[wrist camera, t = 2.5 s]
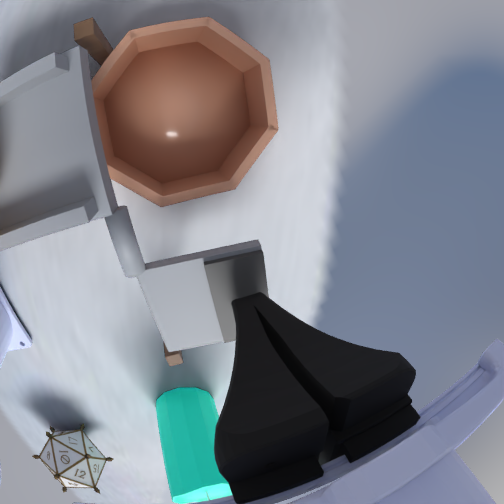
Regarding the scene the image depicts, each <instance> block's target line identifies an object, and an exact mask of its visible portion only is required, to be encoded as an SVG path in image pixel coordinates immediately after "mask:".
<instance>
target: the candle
mask: <svg viewBox="0 0 504 504" xmlns="http://www.w3.org/2000/svg"><path fill="white" fill-rule="evenodd" d="M156 412H157V420H158V427H159V434H160V440H161V446H162V452H163V458H164V464H165V469H166V474H167V479H168V484H169V488H170V493H171V497H172V501H173V502H175V503H179V504H183V503H190V502H202V501H208V500H213V499H218V498H222V497H227V496H231V495H232V492H231V489H230V486H229V483H228V482H227V481H226V480H225V479H224V477H223V476H222V475H221V474H220V473H219V470H218V467H217V464H216V461H215V455H214V438H215V427H216V424H217V422H218V419H219V416H218V412H217V409H216V406H215V402H214V399H213V398H212V396H211V395H210V394H209V392H207V391H204V390H201V389H199V388H196V387H179V388H176V389H173V390H170V391H167V392H164V393H163V394H162V395H161V396H160V397H159V398H158V399H157V400H156Z"/></svg>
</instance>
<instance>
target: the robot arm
mask: <svg viewBox="0 0 504 504" xmlns="http://www.w3.org/2000/svg"><path fill="white" fill-rule="evenodd" d="M231 305H232V309H233V314H234V318H235V322H236V347H235V358H234V365H233V371H232V376H231V381H230V386H229V389H228V393H227V396H226V400H225V403H224V406H223V409H222V412H221V414H220V417H219V419H218V422H217V424H216V427H215V438H214V455H215V461H216V464H217V467H218V470H219V473H220V474H221V475H222V476H223V477H224V479H225V480H226V481H227V482H228V483H229V486H230V489H231V492H232V495H231V496H227V497H222V498H218V499H213V500H208V501H202V502H196V503H191V504H274V503H278V502H281V501H284V500H287V499H290V498H292V497H295V496H298V495H301V494H303V493H306V492H308V491H311V490H313V489H315V488H318V487H320V486H322V485H325V484H327V483H329V482H332V481H334V480H336V479H337V480H336V481H334V482H333V483H331V484H330V485H328V486H326V487H324V488H322V489H320V490H318V491H316V492H313V493H311V494H309V495H307V496H305V497H302V498H300V499H298V500H296V501H293V502H291V503H288V504H496V503H495V502H494V500H493V499H492V498H491V496H490V495H489V494H488V492H487V491H486V490H485V488H484V487H483V486H482V484H481V483H480V482H479V481H478V479H477V478H476V477H475V475H474V474H473V473H472V471H471V470H470V469H469V468H468V466H467V465H466V464H465V462H464V461H463V460H462V459H461V457H460V456H459V455H458V453H457V452H456V451H455V449H456V448H457V447H458V446H460V445H461V443H463V442H464V441H465V440H466V439H467V438H468V437H469V436H470V435H471V434H472V433H473V432H474V431H475V430H476V429H477V428H478V427H479V426H480V425H481V424H482V423H483V422H484V421H485V420H486V419H487V418H488V417H489V416H490V415H491V413H492V412H493V411H494V410H495V409H496V408H497V407H498V406H499V405H500V403H501V402H502V401H503V400H504V344H503V343H502V342H501V341H499V340H498V339H496V340H495V341H494V342H493V343H492V344H491V345H490V346H489V347H488V348H487V349H486V350H485V351H484V352H483V354H482V355H481V357H480V359H479V360H478V363H477V364H476V365H475V366H474V367H473V368H472V369H471V370H470V371H468V372H467V373H466V374H465V375H464V376H463V377H461V378H460V379H459V380H458V381H457V382H456V383H455V384H453V385H452V386H451V387H449V388H448V389H447V390H446V391H444V392H443V393H442V394H441V395H439V397H437V398H435V399H434V400H433V401H431V402H430V403H429V404H427V405H426V406H425V407H423V408H422V409H421V410H419V411H418V412H416V410H415V409H414V408H413V407H412V405H411V403H412V399H411V398H410V397H409V396H408V392H409V390H410V388H411V386H412V384H413V382H414V379H415V375H416V370H415V369H414V368H413V367H412V366H411V364H410V363H409V362H408V361H407V360H406V359H405V358H404V357H403V356H402V355H401V354H400V353H396V352H389V351H382V350H376V349H372V348H367V347H363V346H359V345H356V344H352V343H349V342H346V341H343V340H341V339H337V338H335V337H333V336H330V335H328V334H326V333H323V332H321V331H319V330H317V329H315V328H313V327H312V326H310V325H308V324H306V323H305V322H303V321H301V320H299V319H298V318H296V317H295V316H293V315H292V314H290V313H289V312H287V311H286V310H284V309H283V308H282V307H280V306H279V305H278V304H276V303H275V302H274V301H272V300H271V299H270V298H268V297H267V296H266V295H265V294H264V293H262V292H259V293H255V294H252V295H248V296H245V297H242V298H238V299H235V300H233V301H232V302H231ZM31 345H32V340H31V338H30V337H29V335H28V334H27V332H26V330H25V329H24V327H23V326H22V324H21V323H20V321H19V319H18V318H17V316H16V314H15V313H14V311H13V309H12V307H11V306H10V304H9V302H8V300H7V299H6V297H5V295H4V293H3V291H2V289H1V287H0V368H1V366H2V363H3V360H4V358H5V355H6V353H7V351H12V350H17V349H22V348H28V347H31ZM340 477H341V478H340ZM338 478H339V479H338ZM0 484H1V464H0ZM73 504H93V503H75V502H74V503H73Z"/></svg>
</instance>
